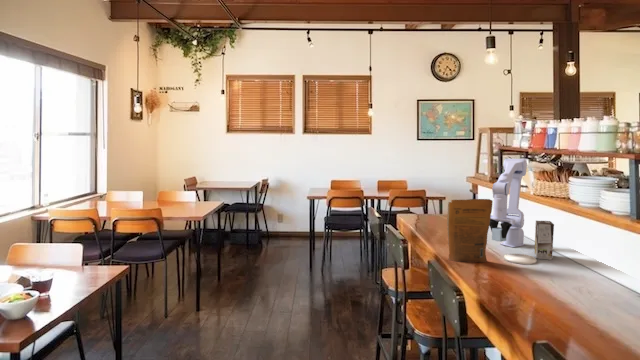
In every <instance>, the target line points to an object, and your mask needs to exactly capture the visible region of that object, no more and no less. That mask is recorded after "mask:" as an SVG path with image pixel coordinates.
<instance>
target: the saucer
mask: <svg viewBox="0 0 640 360" xmlns="http://www.w3.org/2000/svg"><path fill="white" fill-rule="evenodd" d="M503 259H504V261H506V262H507V263H511V264H512V263H513V264H518V265H535V264H537V258H536V256H535V257H534V256H532V255H529V254H524V253H523V254H522V253H507V254H504V256H503Z"/></svg>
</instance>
